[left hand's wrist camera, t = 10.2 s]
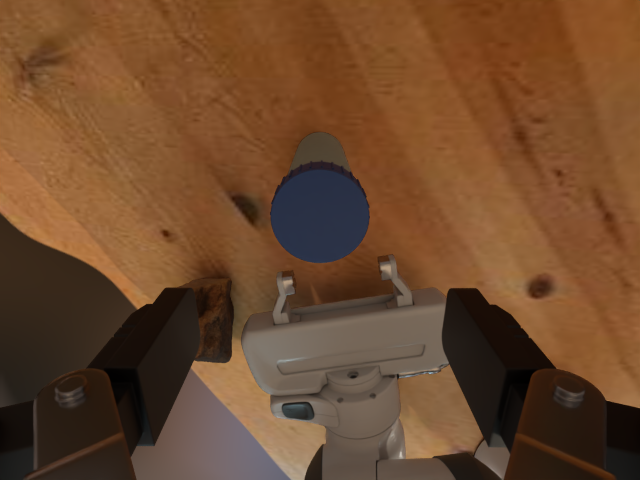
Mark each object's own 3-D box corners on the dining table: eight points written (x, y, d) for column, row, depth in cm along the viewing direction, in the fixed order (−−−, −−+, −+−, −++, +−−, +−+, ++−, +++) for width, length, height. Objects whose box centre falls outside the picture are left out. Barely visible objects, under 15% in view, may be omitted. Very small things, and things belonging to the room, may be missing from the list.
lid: (344, 259, 23) (346, 276, 21) (262, 230, 23) (256, 244, 20) (380, 180, 21) (387, 190, 19) (292, 145, 21) (289, 151, 19)
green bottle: (333, 187, 39) (343, 267, 21) (289, 170, 38) (263, 239, 21) (351, 142, 37) (379, 191, 20) (306, 124, 37) (293, 157, 19)
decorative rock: (185, 256, 42) (142, 309, 32) (240, 260, 42) (215, 315, 32) (190, 345, 46) (154, 417, 36) (240, 349, 46) (218, 421, 36)
